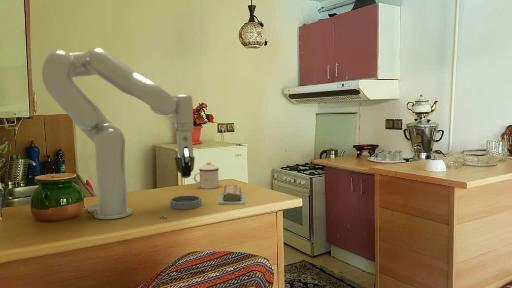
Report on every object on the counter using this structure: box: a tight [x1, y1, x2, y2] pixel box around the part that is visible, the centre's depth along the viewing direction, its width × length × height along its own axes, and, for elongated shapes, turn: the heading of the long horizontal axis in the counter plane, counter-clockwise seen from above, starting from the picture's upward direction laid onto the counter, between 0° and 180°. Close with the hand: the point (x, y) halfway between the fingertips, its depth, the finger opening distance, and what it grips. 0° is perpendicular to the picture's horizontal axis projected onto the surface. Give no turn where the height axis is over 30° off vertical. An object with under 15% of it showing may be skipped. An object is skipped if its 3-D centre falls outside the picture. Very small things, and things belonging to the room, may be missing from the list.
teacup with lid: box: [193, 161, 220, 190], centre depth 183 cm, size 12×9×12 cm
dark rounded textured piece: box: [174, 156, 196, 179], centre depth 150 cm, size 8×7×8 cm
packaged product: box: [217, 184, 245, 206], centre depth 160 cm, size 18×5×10 cm
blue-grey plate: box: [169, 194, 203, 211], centre depth 152 cm, size 12×12×2 cm
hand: (185, 174), depth 150 cm, fingers closed on dark rounded textured piece, 6 cm apart
